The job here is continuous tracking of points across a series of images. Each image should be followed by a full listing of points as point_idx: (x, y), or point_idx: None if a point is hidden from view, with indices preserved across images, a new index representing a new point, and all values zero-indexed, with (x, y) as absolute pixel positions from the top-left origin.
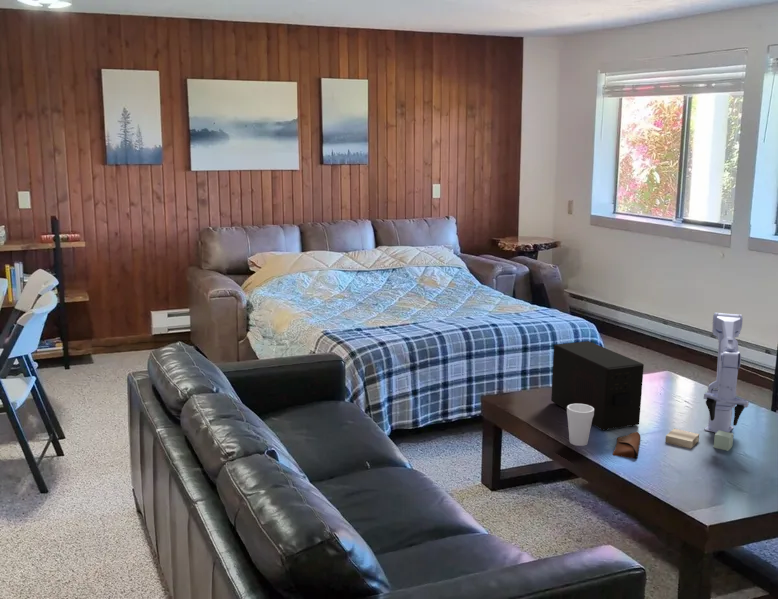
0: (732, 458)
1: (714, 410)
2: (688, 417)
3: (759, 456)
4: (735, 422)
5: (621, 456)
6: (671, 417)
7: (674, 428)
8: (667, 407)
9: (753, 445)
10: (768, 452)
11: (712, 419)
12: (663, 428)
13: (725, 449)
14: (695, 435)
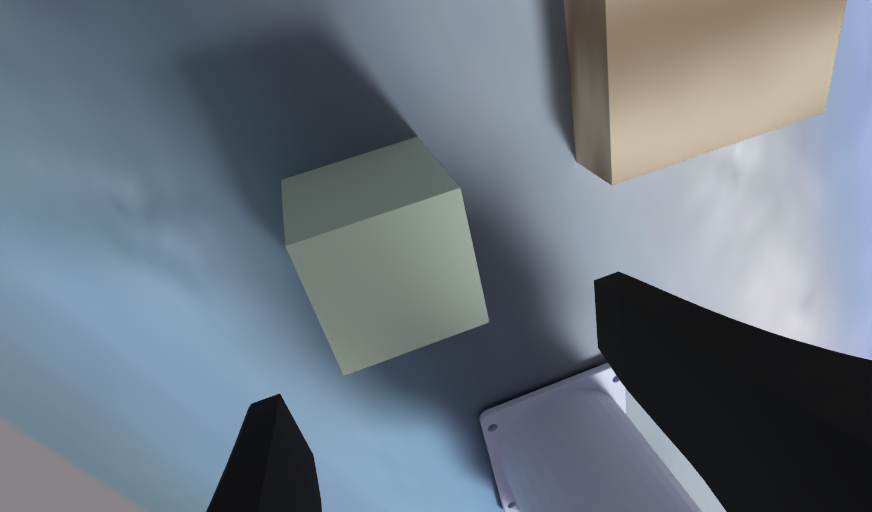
0: (95, 19)
1: (696, 448)
2: None
3: (16, 312)
4: (236, 444)
5: None
6: (825, 347)
7: (822, 112)
8: None
9: None
10: (68, 435)
11: (605, 285)
12: (852, 151)
13: (308, 173)
14: (628, 120)
